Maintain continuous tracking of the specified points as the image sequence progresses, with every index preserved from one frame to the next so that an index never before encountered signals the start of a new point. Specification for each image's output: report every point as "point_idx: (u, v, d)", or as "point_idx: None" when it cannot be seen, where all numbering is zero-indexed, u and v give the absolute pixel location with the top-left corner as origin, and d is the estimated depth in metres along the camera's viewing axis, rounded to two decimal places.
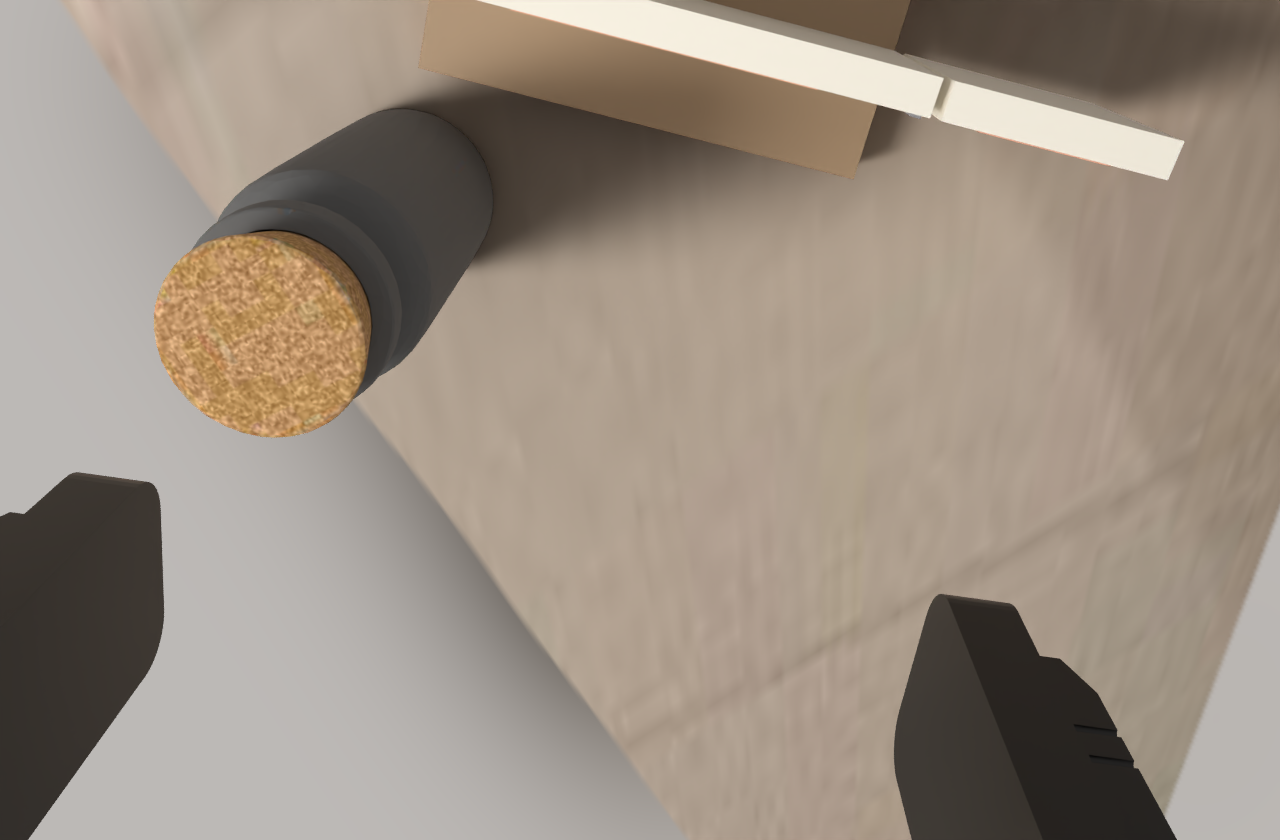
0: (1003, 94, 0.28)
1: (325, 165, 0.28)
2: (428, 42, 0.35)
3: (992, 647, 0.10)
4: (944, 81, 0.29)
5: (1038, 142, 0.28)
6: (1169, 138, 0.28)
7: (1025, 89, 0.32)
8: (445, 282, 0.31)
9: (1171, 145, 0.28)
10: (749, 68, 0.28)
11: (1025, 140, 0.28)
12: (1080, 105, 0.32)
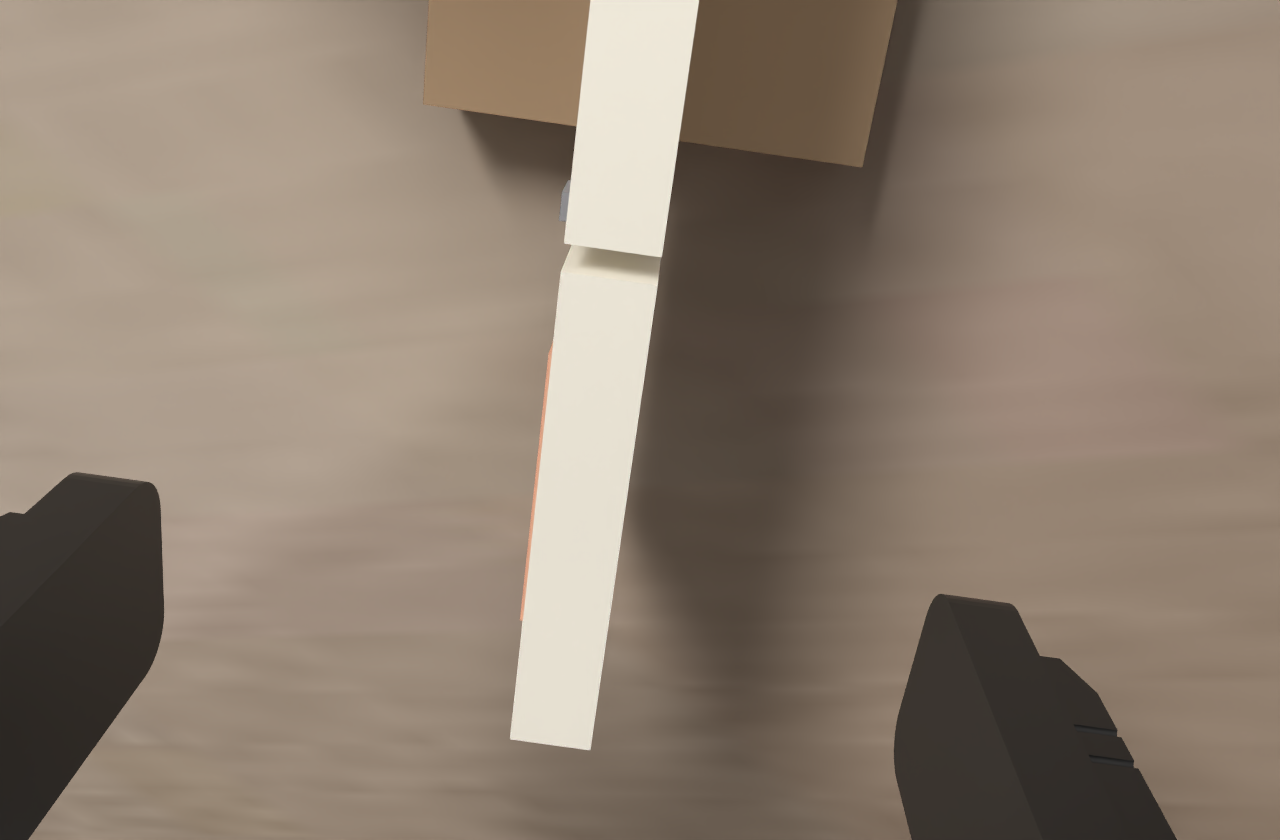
0: (639, 397, 0.12)
1: None
2: None
3: (992, 646, 0.10)
4: (648, 257, 0.13)
5: (545, 491, 0.13)
6: (592, 724, 0.14)
7: None
8: None
9: (578, 730, 0.14)
10: None
11: (545, 464, 0.12)
12: None
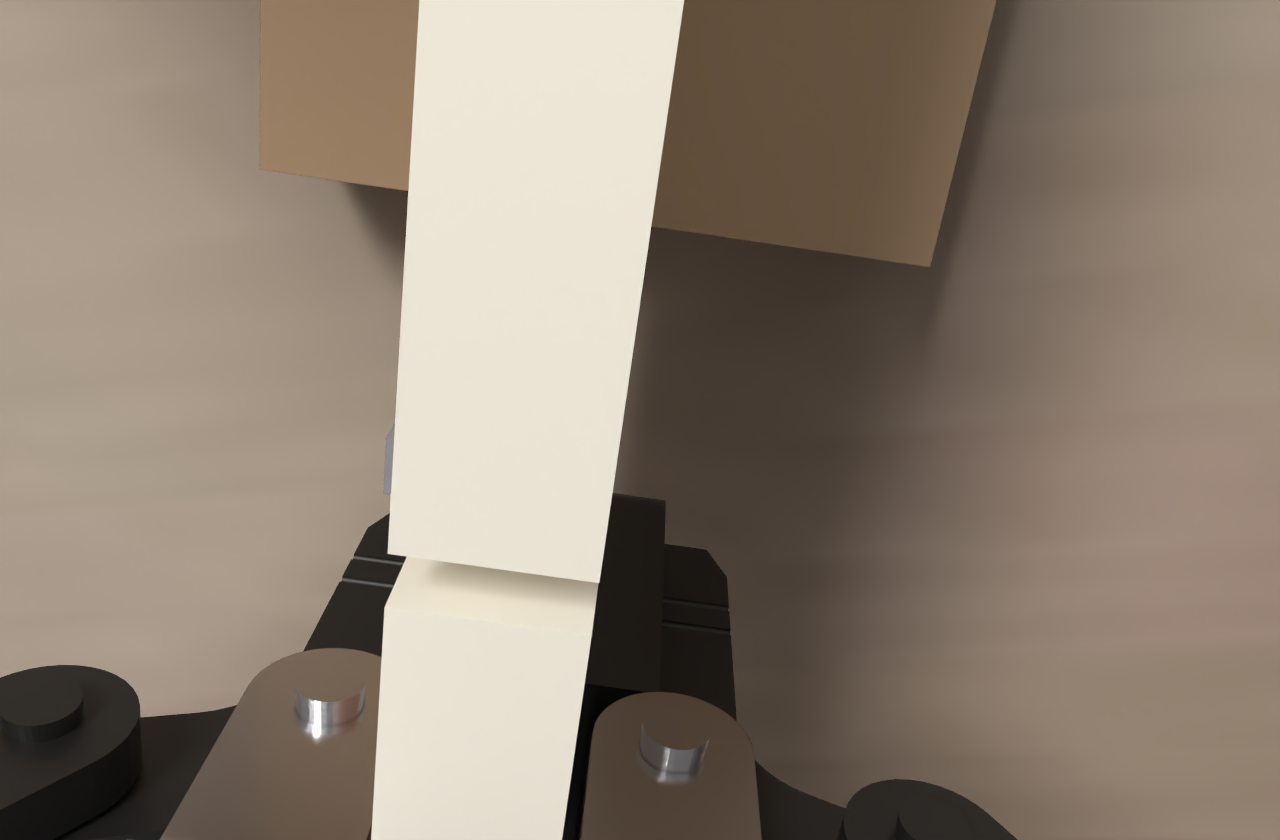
0: (559, 831, 0.06)
1: None
2: None
3: (621, 532, 0.11)
4: None
5: None
6: None
7: None
8: None
9: None
10: None
11: None
12: None
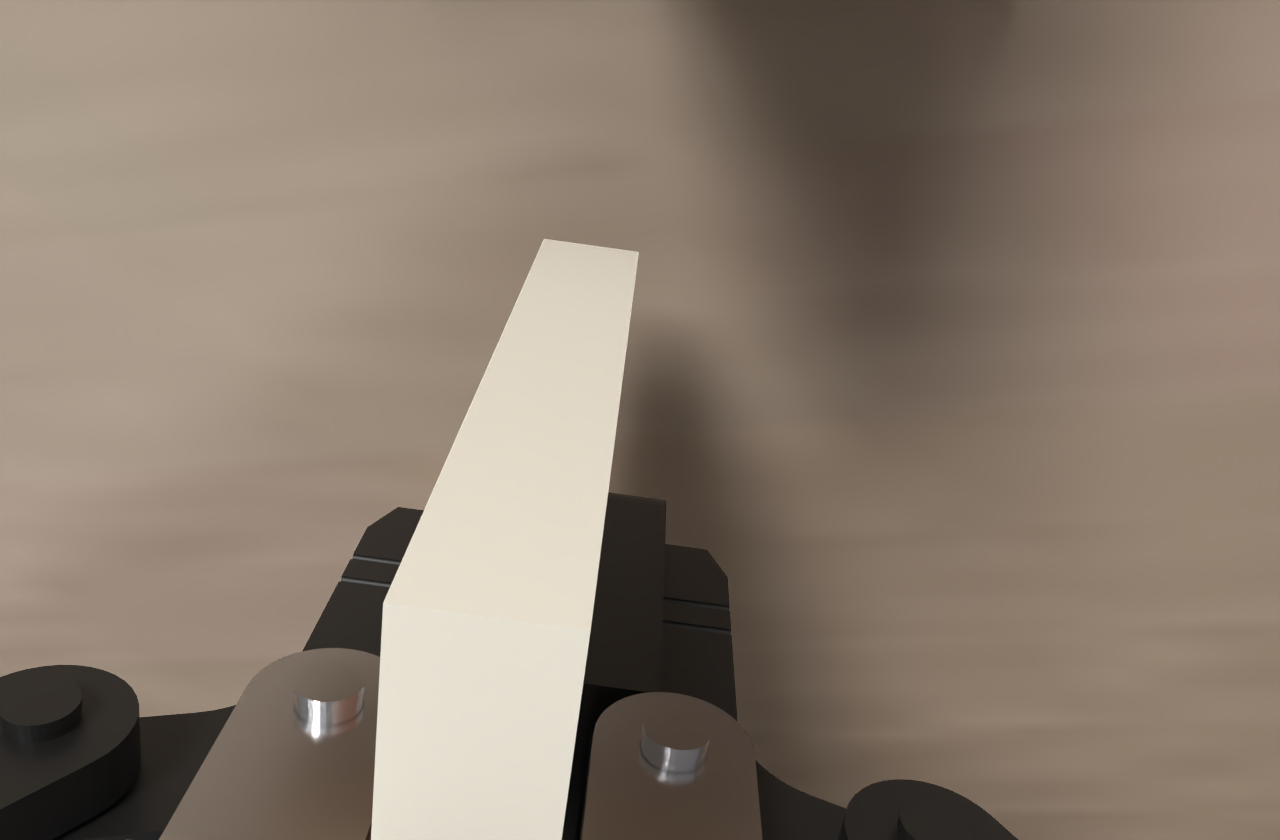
0: (559, 828, 0.06)
1: None
2: None
3: (622, 532, 0.11)
4: (579, 524, 0.06)
5: None
6: None
7: None
8: None
9: None
10: None
11: None
12: None
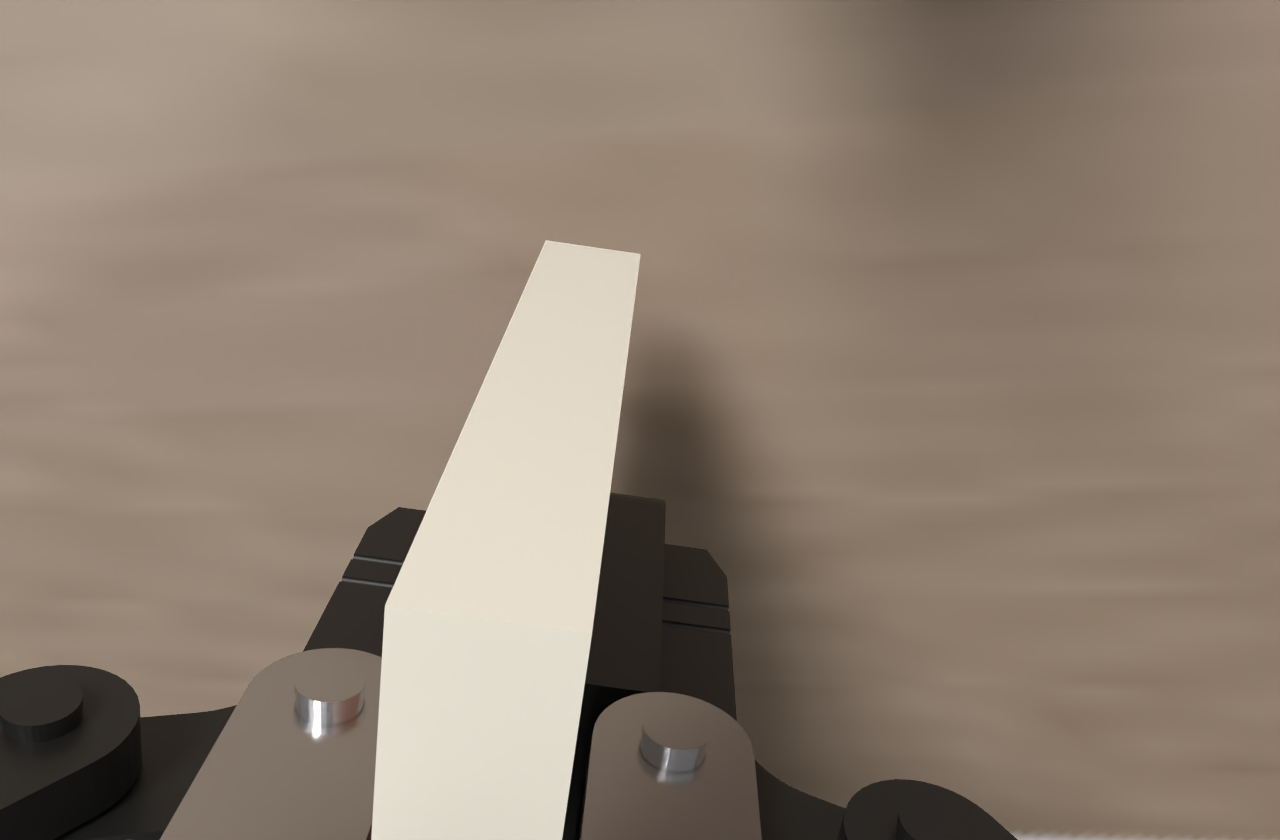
0: (559, 830, 0.06)
1: None
2: None
3: (621, 532, 0.11)
4: (581, 526, 0.06)
5: None
6: None
7: None
8: None
9: None
10: None
11: None
12: None
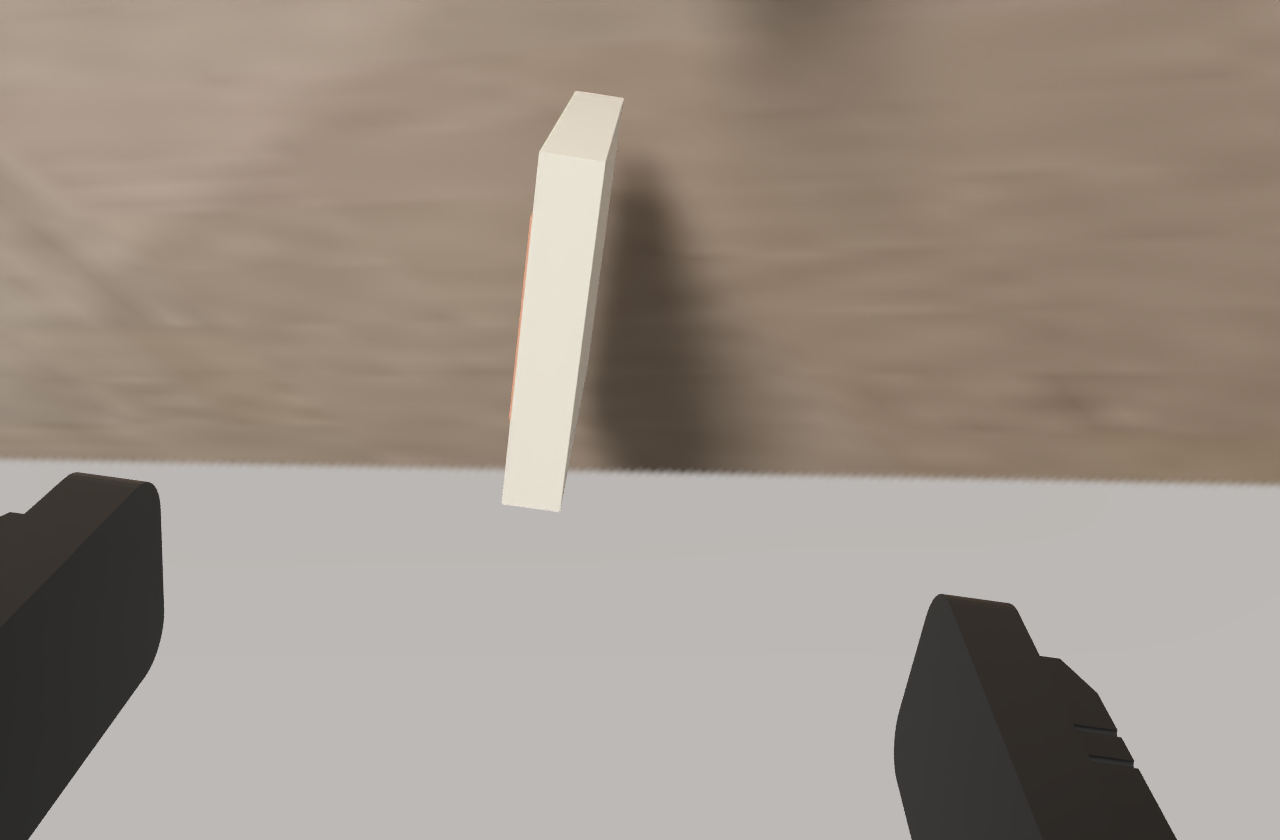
0: (593, 242, 0.18)
1: None
2: None
3: (992, 647, 0.10)
4: (600, 148, 0.18)
5: (528, 311, 0.18)
6: (561, 491, 0.19)
7: (597, 277, 0.22)
8: None
9: (551, 496, 0.19)
10: None
11: (528, 291, 0.18)
12: (585, 356, 0.22)
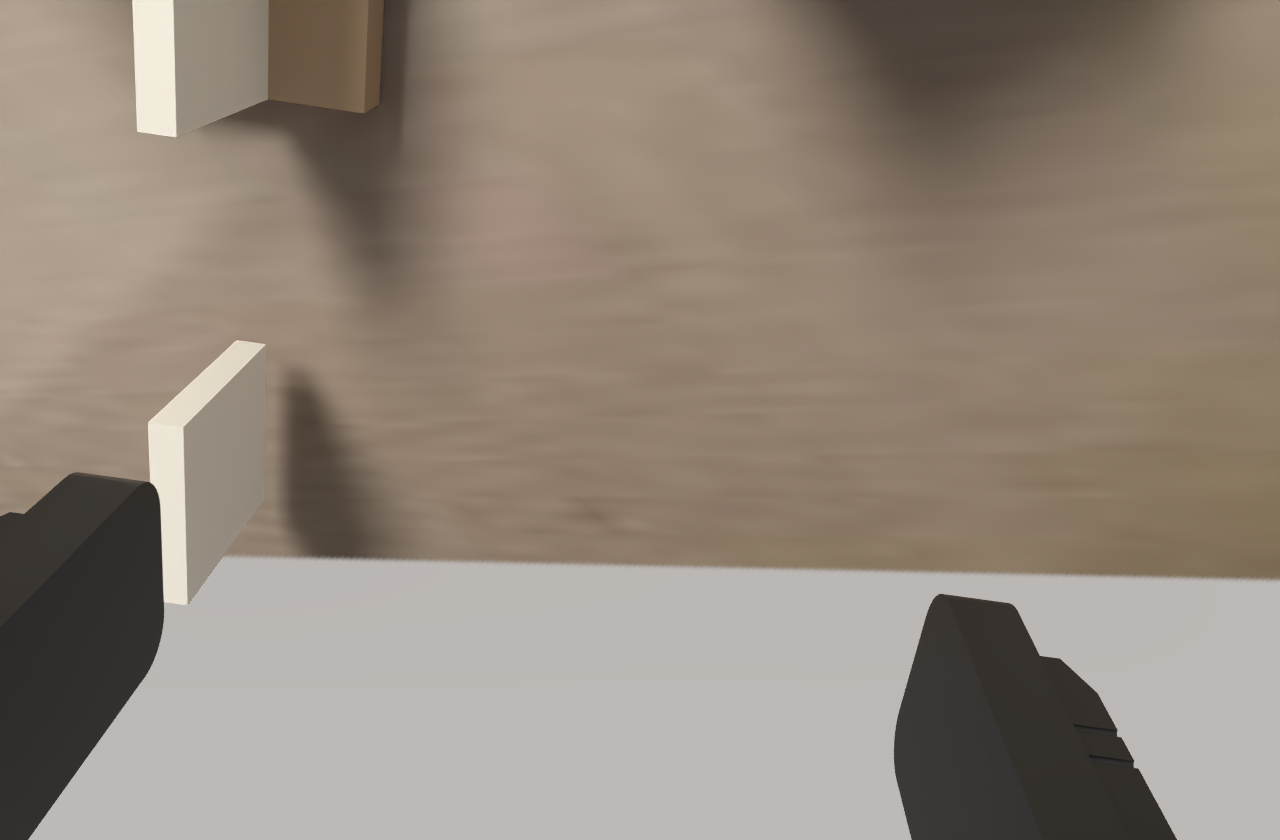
0: (183, 466, 0.33)
1: None
2: None
3: (992, 647, 0.10)
4: (192, 412, 0.33)
5: None
6: (186, 594, 0.34)
7: (240, 457, 0.38)
8: None
9: (181, 597, 0.34)
10: None
11: None
12: (232, 505, 0.38)
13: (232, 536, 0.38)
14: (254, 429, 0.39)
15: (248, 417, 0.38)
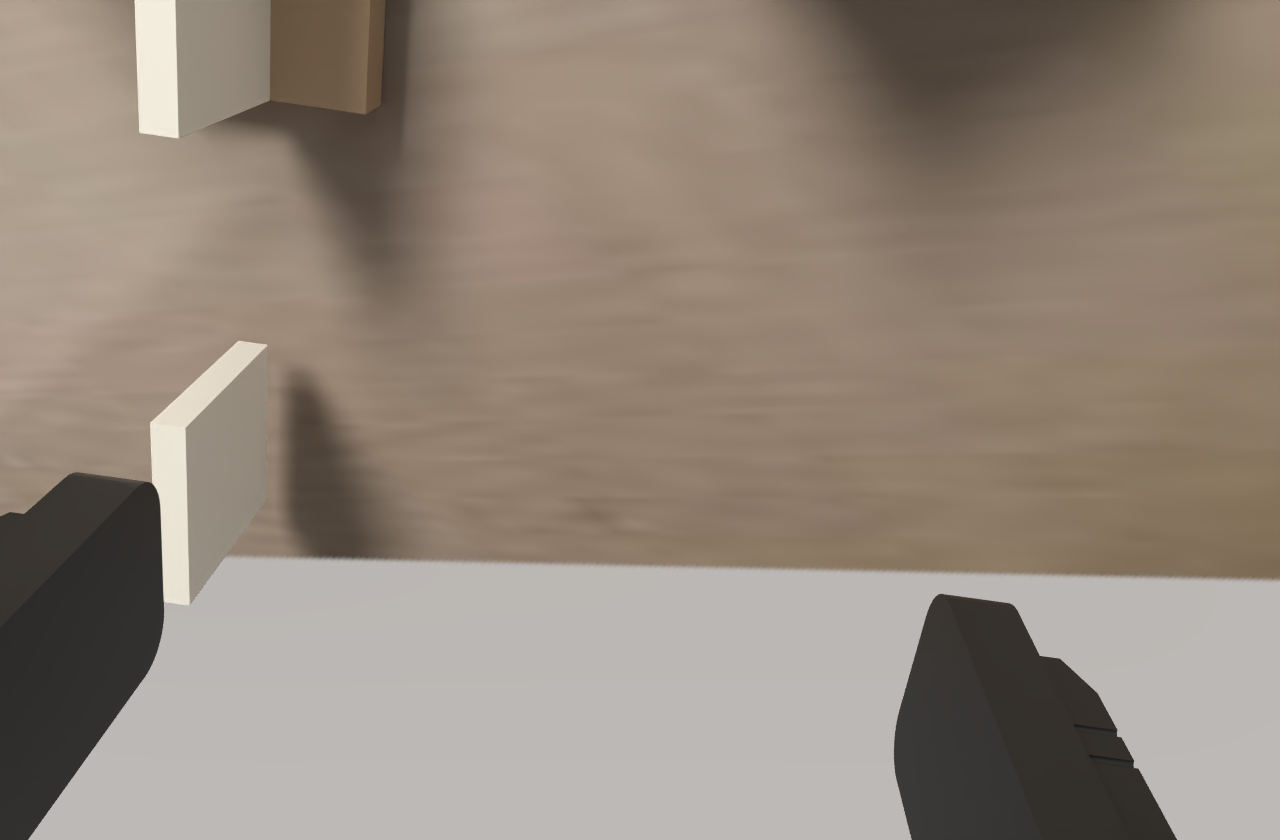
0: (186, 466, 0.33)
1: None
2: None
3: (992, 647, 0.10)
4: (194, 412, 0.33)
5: None
6: (188, 594, 0.35)
7: (242, 458, 0.38)
8: None
9: (183, 597, 0.35)
10: None
11: None
12: (234, 505, 0.38)
13: (234, 536, 0.38)
14: (256, 429, 0.39)
15: (250, 417, 0.38)
